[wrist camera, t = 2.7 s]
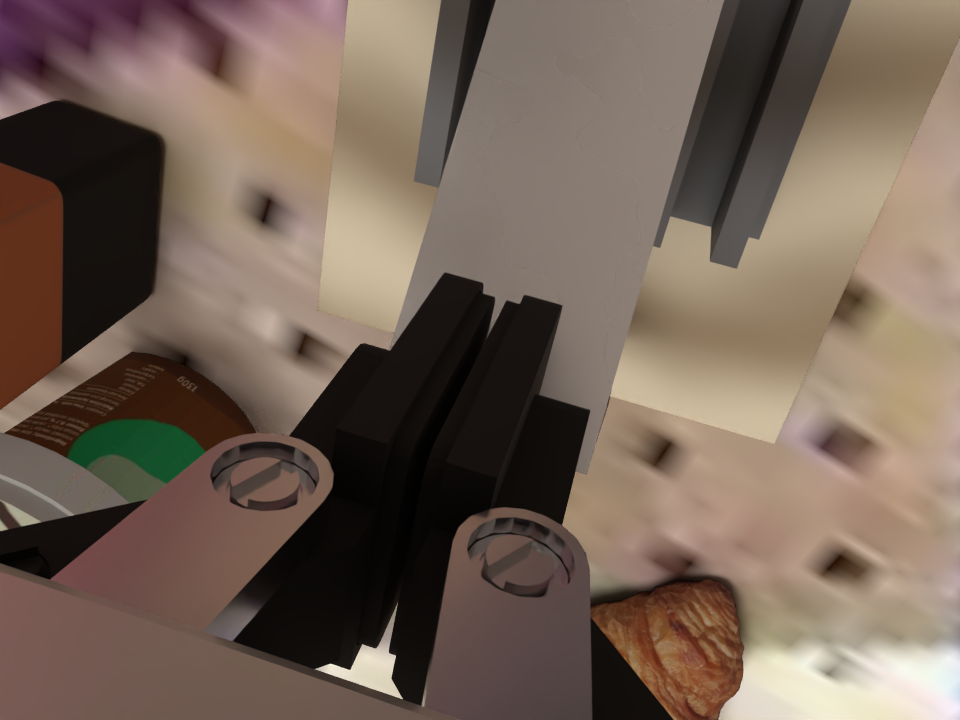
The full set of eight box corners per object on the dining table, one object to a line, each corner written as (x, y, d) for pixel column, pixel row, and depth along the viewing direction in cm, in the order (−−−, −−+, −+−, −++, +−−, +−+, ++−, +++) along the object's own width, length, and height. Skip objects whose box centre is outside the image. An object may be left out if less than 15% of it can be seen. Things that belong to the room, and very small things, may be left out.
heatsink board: (438, -664, 19) (297, -921, 13) (1202, -543, 17) (1472, -772, 11) (334, 292, 32) (235, 400, 25) (772, 419, 30) (784, 568, 24)
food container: (315, 573, 39) (203, 768, 31) (192, 558, 41) (52, 741, 32) (263, 325, 33) (105, 483, 25) (121, 318, 35) (-73, 465, 26)
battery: (168, 134, 30) (-48, 239, 22) (155, 300, 34) (-34, 445, 26) (54, 93, 31) (-202, 181, 22) (53, 262, 34) (-168, 393, 26)
